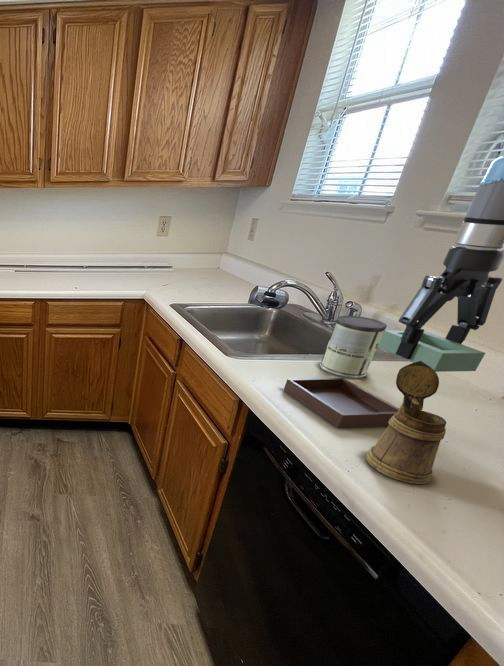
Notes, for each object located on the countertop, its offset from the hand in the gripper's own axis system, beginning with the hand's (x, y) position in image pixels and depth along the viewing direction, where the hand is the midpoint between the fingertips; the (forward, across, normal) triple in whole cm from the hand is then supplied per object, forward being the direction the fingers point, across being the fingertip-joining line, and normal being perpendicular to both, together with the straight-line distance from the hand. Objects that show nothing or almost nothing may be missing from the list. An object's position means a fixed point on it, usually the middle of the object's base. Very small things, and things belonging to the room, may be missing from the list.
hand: (424, 356), depth 88 cm
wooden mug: (+14, +18, +17) cm, 28 cm away
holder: (+14, +12, -3) cm, 18 cm away
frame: (0, 0, 0) cm, 0 cm away
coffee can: (+14, -5, -22) cm, 26 cm away
